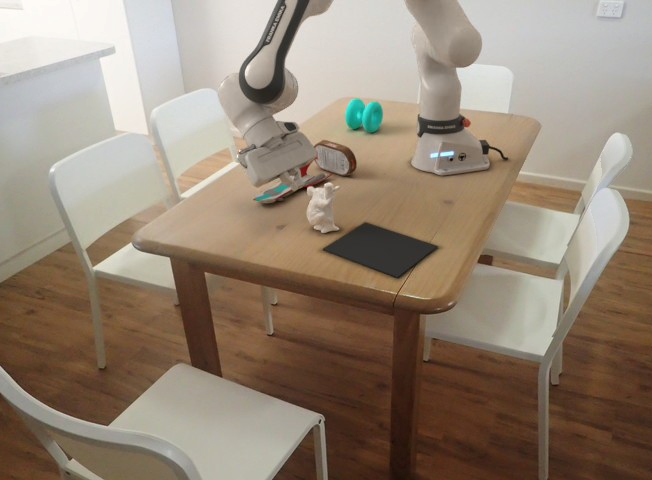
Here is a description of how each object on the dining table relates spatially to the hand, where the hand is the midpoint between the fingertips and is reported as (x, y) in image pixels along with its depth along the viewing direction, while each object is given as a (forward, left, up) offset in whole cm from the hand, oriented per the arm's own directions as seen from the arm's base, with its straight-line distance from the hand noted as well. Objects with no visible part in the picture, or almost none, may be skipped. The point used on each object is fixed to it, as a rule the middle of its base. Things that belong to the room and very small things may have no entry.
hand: (299, 188), depth 135 cm
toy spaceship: (+3, -19, -9) cm, 21 cm away
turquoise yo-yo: (-23, -66, -9) cm, 71 cm away
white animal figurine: (-5, +5, -9) cm, 11 cm away
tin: (-10, -30, -9) cm, 33 cm away
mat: (-17, +16, -9) cm, 25 cm away
